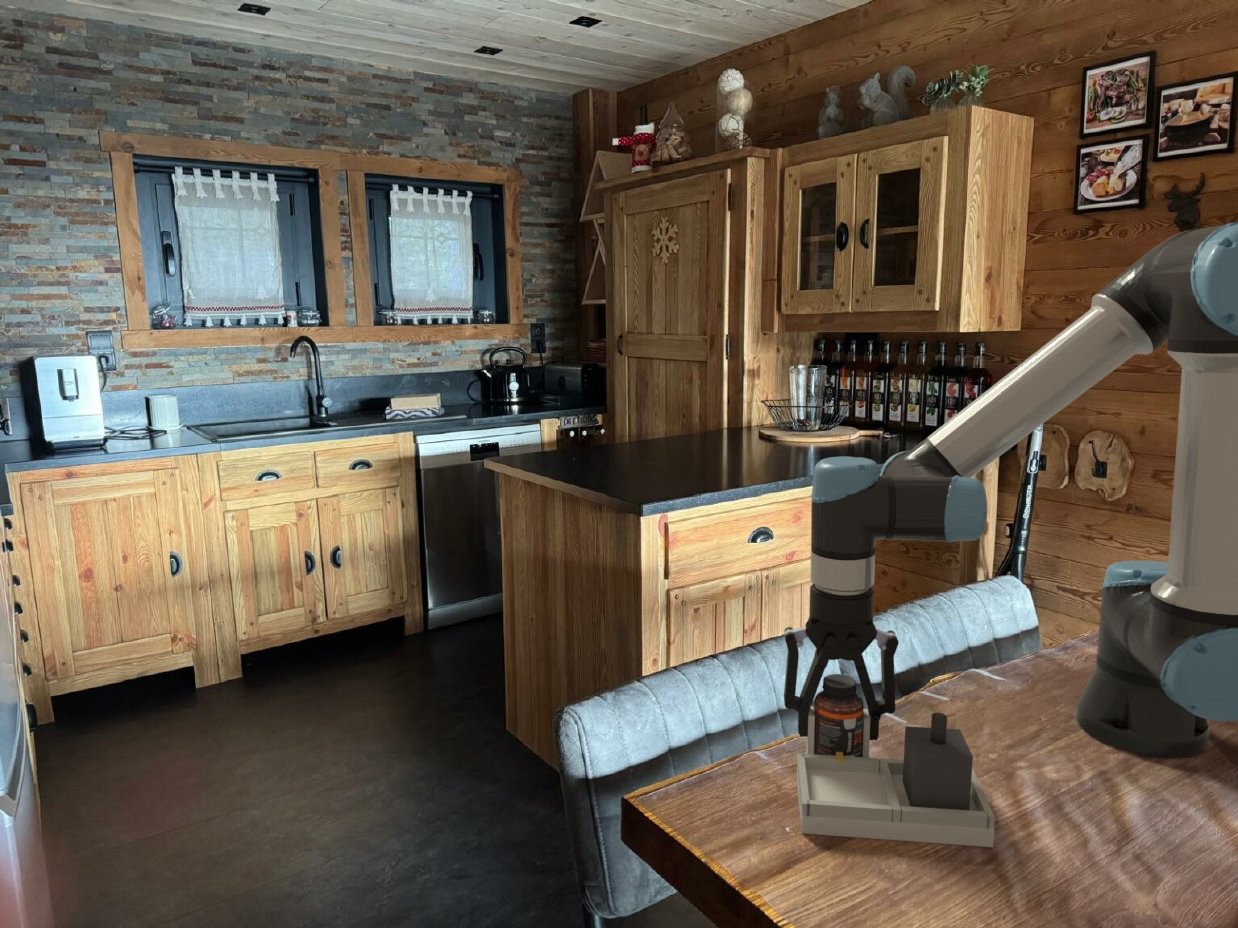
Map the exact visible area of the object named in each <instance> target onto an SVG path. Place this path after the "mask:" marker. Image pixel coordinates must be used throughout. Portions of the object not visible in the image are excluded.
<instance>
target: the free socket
mask: <svg viewBox="0 0 1238 928" xmlns="http://www.w3.org/2000/svg"><path fill="white" fill-rule="evenodd" d="M796 757H797V758H796V761H797V762H796V770H797V769H798V780H799V790H800V800H801V810H802V816H810V817H825V818H839V819H853V820H868V821H882V822H892V807H891V805H878V804H863V803H849V802H834V801H819V800H809V792H808V784H807V775H806V769H816V770H832V771H848V772H864V773H879V758H878V757H869V758H864V757H847V756H843V752H836V756H830V755H814V754H806V753H797V756H796Z"/></svg>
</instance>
